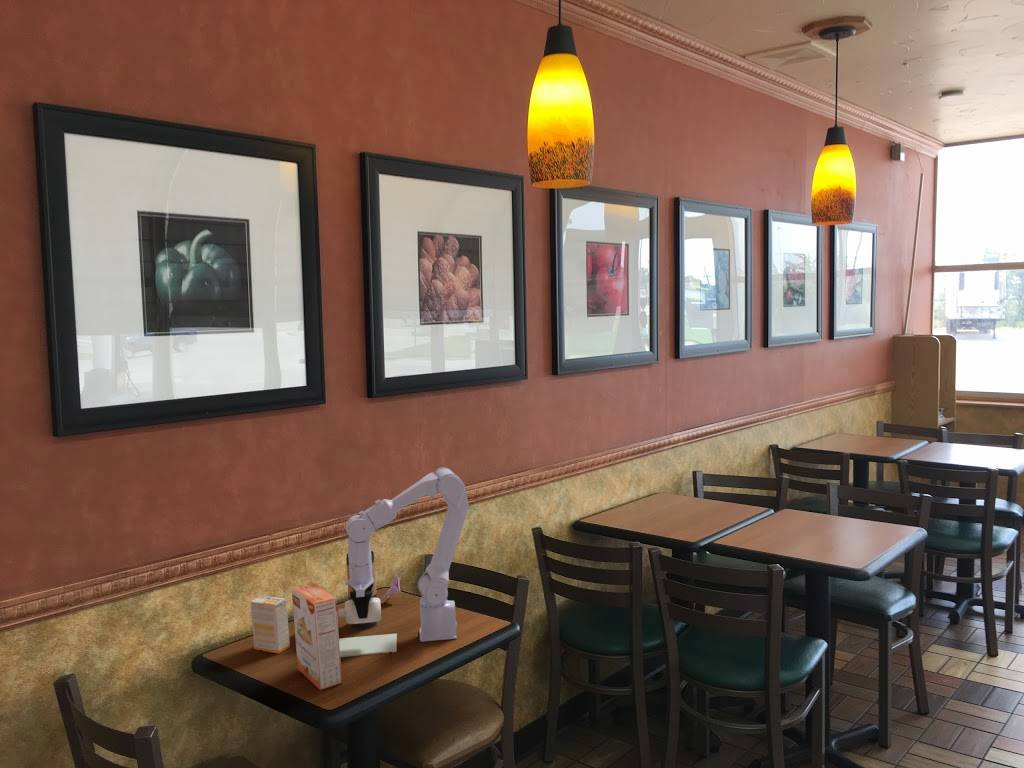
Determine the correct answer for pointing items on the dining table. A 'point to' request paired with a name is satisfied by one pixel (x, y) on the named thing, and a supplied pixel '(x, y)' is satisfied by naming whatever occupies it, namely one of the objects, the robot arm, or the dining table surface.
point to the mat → (368, 645)
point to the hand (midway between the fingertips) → (363, 614)
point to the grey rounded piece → (352, 615)
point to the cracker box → (317, 635)
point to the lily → (394, 587)
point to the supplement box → (270, 624)
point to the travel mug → (374, 594)
